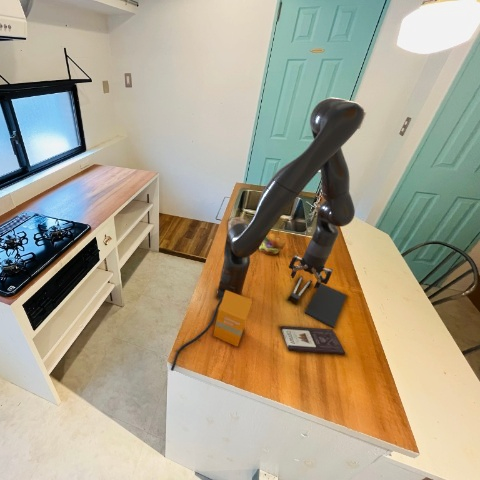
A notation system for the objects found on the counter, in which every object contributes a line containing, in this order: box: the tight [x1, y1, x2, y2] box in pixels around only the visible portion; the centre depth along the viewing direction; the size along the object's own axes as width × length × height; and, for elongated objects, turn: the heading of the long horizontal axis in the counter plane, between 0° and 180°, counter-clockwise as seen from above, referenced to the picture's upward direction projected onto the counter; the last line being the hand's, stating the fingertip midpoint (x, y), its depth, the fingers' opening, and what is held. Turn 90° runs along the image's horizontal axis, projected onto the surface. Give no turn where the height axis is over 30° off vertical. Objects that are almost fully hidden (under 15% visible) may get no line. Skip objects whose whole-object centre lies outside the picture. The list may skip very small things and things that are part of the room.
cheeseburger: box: [258, 233, 286, 256], centre depth 129 cm, size 10×11×10 cm
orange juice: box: [212, 290, 253, 347], centre depth 85 cm, size 8×9×20 cm
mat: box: [304, 283, 347, 329], centre depth 102 cm, size 21×10×1 cm, turn 138°
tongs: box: [287, 275, 313, 305], centre depth 106 cm, size 16×5×3 cm, turn 138°
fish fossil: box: [227, 216, 248, 232], centre depth 146 cm, size 26×10×1 cm, turn 168°
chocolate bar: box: [280, 325, 346, 355], centre depth 88 cm, size 9×1×18 cm
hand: (303, 282), depth 103 cm, fingers open, 8 cm apart
